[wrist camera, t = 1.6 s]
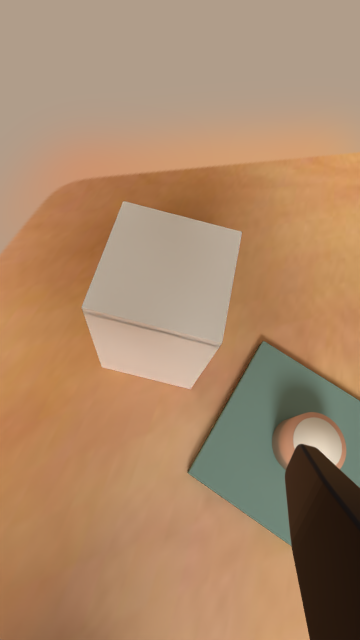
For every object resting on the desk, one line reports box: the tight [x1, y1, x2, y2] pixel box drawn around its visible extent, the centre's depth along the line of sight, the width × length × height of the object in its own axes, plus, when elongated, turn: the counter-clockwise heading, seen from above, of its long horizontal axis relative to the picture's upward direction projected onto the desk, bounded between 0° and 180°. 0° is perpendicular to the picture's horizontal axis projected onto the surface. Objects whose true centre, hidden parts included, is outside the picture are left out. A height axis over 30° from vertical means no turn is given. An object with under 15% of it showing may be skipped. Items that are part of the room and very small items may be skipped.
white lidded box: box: [82, 201, 242, 389], centre depth 19 cm, size 6×6×9 cm
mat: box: [188, 341, 360, 546], centre depth 21 cm, size 10×10×1 cm
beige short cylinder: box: [272, 412, 346, 470], centre depth 20 cm, size 3×3×2 cm
